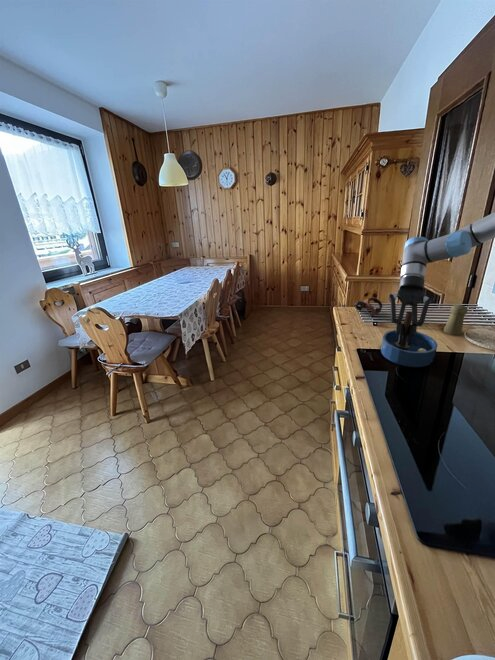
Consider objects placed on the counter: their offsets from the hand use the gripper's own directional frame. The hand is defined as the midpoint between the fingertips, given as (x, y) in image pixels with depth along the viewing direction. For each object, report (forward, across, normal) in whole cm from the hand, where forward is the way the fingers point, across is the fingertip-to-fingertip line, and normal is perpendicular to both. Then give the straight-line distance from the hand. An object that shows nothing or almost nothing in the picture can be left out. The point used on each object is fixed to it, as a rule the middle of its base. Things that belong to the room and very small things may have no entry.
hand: (404, 343), depth 92 cm
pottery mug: (-23, +13, -34) cm, 43 cm away
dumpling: (0, -6, -8) cm, 10 cm away
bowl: (0, -2, -10) cm, 11 cm away
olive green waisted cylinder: (-16, -19, -27) cm, 37 cm away
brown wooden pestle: (+1, 0, -7) cm, 7 cm away
